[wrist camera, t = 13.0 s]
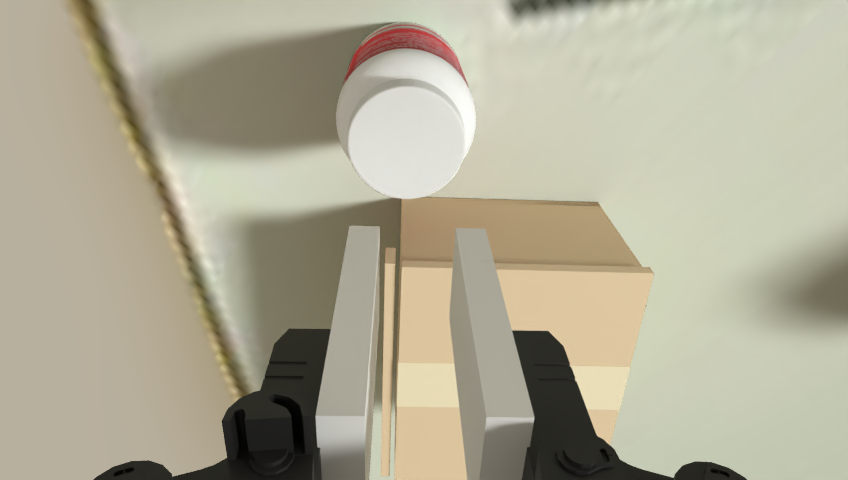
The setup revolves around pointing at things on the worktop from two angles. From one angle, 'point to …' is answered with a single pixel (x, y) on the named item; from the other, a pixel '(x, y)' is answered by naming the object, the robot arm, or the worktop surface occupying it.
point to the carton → (511, 234)
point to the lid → (528, 311)
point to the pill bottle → (405, 111)
